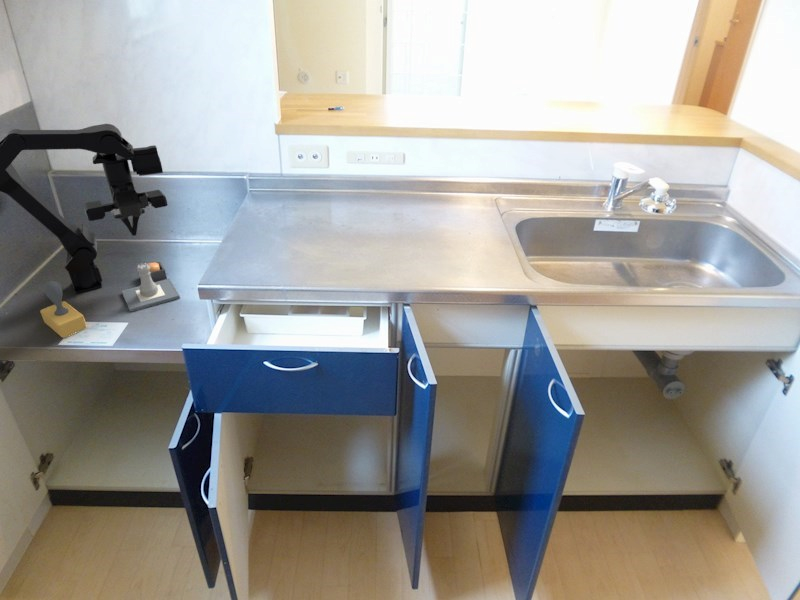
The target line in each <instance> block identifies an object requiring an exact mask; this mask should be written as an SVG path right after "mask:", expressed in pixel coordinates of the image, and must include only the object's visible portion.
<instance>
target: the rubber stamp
mask: <svg viewBox="0 0 800 600" xmlns="http://www.w3.org/2000/svg"><path fill="white" fill-rule="evenodd" d="M43 290H44V293H45V295H46V297H47V298H48V299H49V300H50V301H51V302H52V303H53V304H52V305H50V306H47V307H44V308H42V309H40V311H39V312H40V314H41V317H42V319H43V322H44V323H45V324H46V325H47V326H48V327H49V328H50V329H52V330H53V331H54V332H55V333H56V334H57V335H58V336H60V337H61V338H63V339H66V338H68V337H70V336H72V335H71V334H73V333H75V332H77V333H79V332H78V331H80V332H82V331H84V330H86V329H88V326H87V322H86V319H85V317H84V315H83V313H81V312H80V311H78V310H77V309H76V308H74V307H73V306H72V305H71V304H69V303H68V302H67V301H65V300H63V288H62V285H61V284H60V283H59V282H57V281H55V280H54V281H53V280H50V281H48V282H46V283H45V284H44V287H43ZM62 300H63V301H62ZM85 328H86V329H85ZM83 329H84V330H83ZM81 330H82V331H81ZM75 334H76V333H75ZM69 335H70V336H69ZM73 335H74V334H73ZM67 336H68V337H67ZM65 337H66V338H65Z"/></svg>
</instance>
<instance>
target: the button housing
mask: <svg viewBox="0 0 800 600" xmlns="http://www.w3.org/2000/svg"><path fill="white" fill-rule="evenodd" d="M155 263H158V264H159V267H160V270H158V271H154V272H150V273H151V274H150V275H151V278H152V280H153V282H158V281H162V280H165V279H168V277H167V273H166V270H165V269H166V268H164V266H163V264H162V262H161V261H157V262H155Z"/></svg>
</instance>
